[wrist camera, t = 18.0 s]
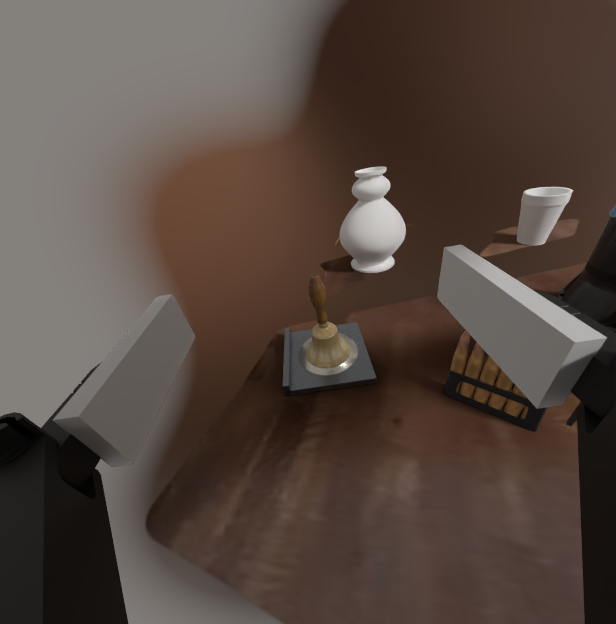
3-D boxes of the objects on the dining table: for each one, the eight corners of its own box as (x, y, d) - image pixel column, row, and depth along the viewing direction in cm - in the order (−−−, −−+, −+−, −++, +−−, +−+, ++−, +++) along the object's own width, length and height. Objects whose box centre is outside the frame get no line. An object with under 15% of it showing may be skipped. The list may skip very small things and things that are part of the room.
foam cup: (514, 233, 78) (528, 187, 70) (555, 236, 72) (574, 186, 64) (506, 245, 73) (520, 196, 65) (549, 249, 67) (569, 196, 59)
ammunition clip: (442, 393, 38) (456, 331, 31) (446, 384, 39) (460, 323, 32) (535, 432, 32) (577, 365, 25) (537, 420, 33) (577, 353, 26)
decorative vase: (331, 264, 81) (320, 176, 67) (375, 246, 86) (373, 162, 72) (368, 284, 67) (365, 179, 53) (417, 261, 73) (426, 161, 59)
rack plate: (357, 326, 54) (356, 317, 52) (376, 383, 41) (376, 372, 40) (287, 337, 55) (284, 328, 53) (285, 396, 42) (282, 386, 41)
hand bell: (349, 368, 43) (341, 286, 34) (302, 368, 45) (282, 290, 36) (350, 336, 50) (344, 260, 41) (309, 337, 51) (293, 264, 42)
